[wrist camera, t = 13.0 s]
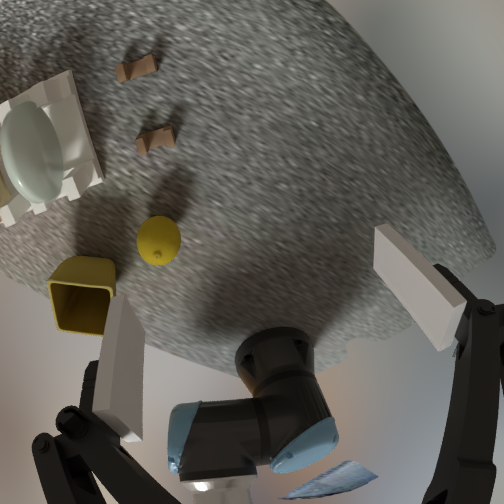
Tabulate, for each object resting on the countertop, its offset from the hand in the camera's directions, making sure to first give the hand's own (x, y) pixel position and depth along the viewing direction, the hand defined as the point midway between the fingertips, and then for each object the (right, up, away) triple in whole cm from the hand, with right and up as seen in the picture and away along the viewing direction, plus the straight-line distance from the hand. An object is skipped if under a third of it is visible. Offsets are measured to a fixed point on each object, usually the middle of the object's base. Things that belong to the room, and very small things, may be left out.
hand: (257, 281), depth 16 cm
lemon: (-13, +5, +26) cm, 29 cm away
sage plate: (-24, +15, +15) cm, 31 cm away
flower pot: (-23, -1, +28) cm, 36 cm away
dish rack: (-29, +14, +16) cm, 36 cm away
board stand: (-12, +19, +17) cm, 29 cm away
